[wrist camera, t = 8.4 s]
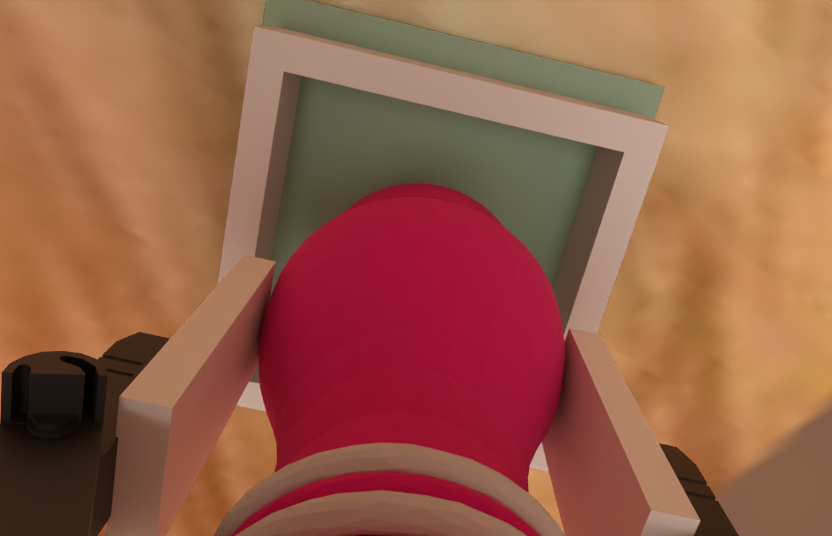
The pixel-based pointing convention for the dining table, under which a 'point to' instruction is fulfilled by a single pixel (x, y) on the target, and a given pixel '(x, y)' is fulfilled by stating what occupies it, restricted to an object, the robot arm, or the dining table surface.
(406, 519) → the pepper mill
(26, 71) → the dining table surface
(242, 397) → the deck socket
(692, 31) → the dining table surface
